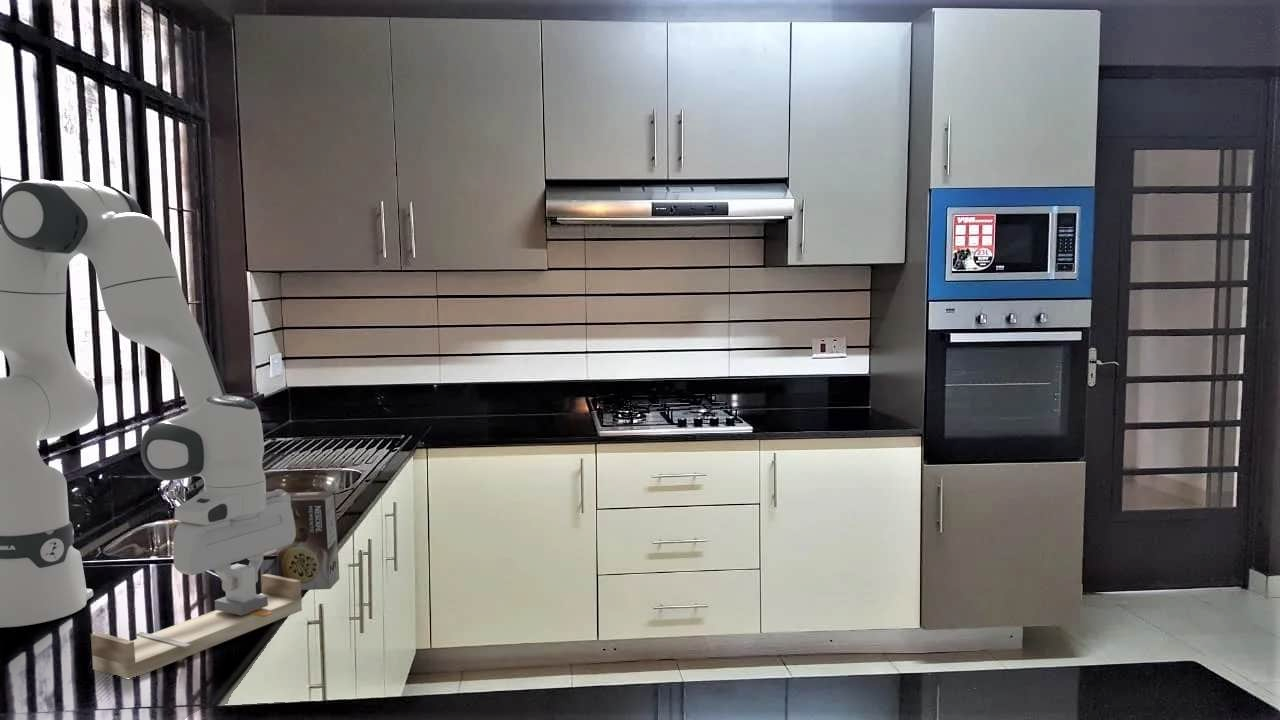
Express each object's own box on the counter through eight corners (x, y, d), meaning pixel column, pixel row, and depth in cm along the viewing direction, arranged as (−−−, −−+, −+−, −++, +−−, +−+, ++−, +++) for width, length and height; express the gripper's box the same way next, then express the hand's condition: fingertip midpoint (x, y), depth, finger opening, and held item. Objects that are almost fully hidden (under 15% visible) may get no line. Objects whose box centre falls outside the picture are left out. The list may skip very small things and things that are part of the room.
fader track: (86, 667, 134) (84, 632, 134) (261, 601, 161) (259, 572, 160) (136, 681, 129) (134, 646, 129) (308, 611, 156) (307, 581, 155)
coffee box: (340, 578, 173) (336, 490, 171) (330, 590, 166) (326, 498, 165) (289, 579, 172) (285, 491, 171) (277, 591, 166) (272, 499, 164)
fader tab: (215, 609, 150) (212, 569, 149) (241, 600, 154) (239, 560, 154) (241, 615, 147) (239, 574, 146) (267, 605, 151) (265, 565, 151)
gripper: (275, 484, 160) (279, 565, 161) (164, 512, 142) (169, 603, 143) (302, 488, 157) (306, 570, 158) (192, 516, 139) (197, 609, 140)
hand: (240, 586), depth 150 cm, fingers closed on fader tab, 2 cm apart
